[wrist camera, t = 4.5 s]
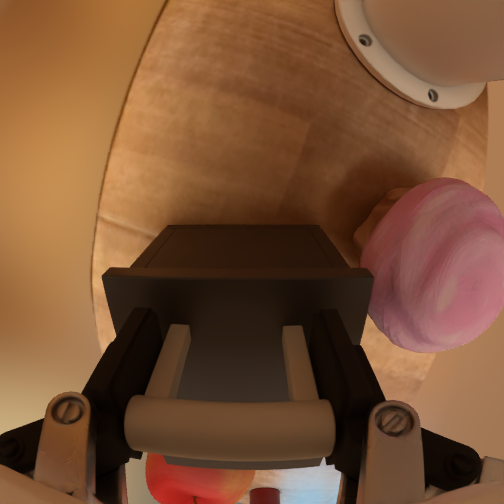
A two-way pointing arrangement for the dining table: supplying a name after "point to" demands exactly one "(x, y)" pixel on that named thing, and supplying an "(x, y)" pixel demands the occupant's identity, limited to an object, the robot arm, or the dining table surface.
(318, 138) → the dining table surface
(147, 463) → the apple
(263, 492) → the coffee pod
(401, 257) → the cupcake
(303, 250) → the open square bin
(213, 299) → the bin lid
